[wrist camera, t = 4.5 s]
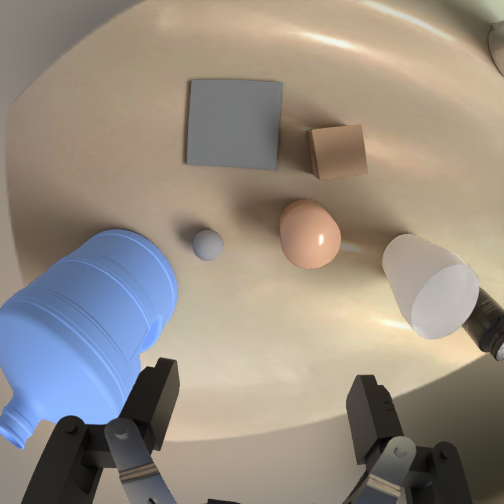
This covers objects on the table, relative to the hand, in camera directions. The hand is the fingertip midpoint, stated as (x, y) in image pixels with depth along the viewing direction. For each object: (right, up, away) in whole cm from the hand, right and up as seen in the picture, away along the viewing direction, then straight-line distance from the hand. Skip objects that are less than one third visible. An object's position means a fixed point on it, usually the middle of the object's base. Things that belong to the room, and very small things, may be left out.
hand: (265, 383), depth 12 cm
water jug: (-18, +2, +27) cm, 32 cm away
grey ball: (-6, +7, +24) cm, 25 cm away
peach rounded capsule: (+6, +9, +22) cm, 25 cm away
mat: (-3, +20, +18) cm, 27 cm away
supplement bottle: (+35, -3, +25) cm, 43 cm away
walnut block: (+8, +17, +19) cm, 27 cm away
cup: (+19, +5, +23) cm, 31 cm away
